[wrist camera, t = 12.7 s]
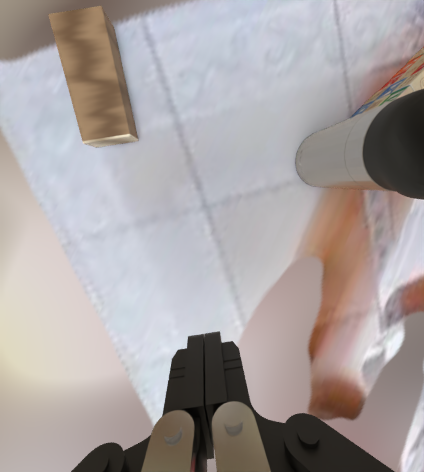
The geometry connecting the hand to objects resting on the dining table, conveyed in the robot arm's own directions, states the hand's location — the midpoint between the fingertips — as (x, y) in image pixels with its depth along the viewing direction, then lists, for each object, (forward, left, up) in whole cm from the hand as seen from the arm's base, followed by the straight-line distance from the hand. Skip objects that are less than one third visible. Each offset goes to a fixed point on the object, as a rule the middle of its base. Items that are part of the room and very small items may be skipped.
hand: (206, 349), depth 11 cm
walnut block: (+12, -15, -30) cm, 36 cm away
